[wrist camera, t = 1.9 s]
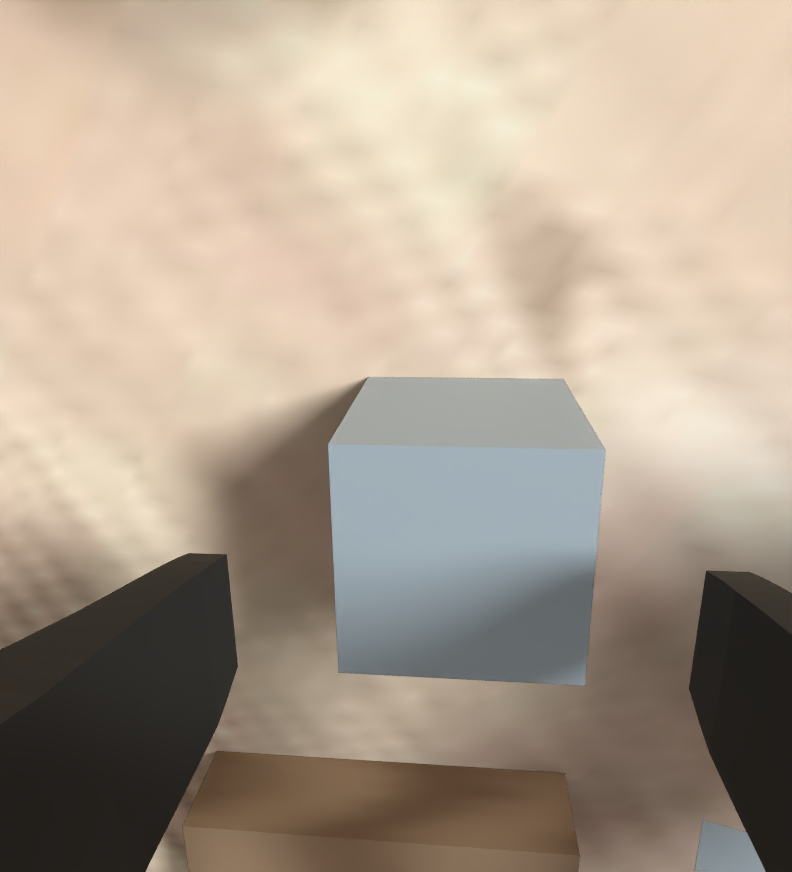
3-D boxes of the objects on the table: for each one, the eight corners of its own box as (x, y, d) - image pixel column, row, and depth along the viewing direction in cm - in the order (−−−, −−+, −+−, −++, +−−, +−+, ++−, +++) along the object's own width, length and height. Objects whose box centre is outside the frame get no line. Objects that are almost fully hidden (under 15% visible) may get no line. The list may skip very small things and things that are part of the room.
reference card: (910, 753, 18) (920, 764, 18) (866, 918, 20) (874, 932, 20) (604, 735, 19) (607, 746, 19) (588, 896, 21) (590, 909, 20)
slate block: (562, 378, 16) (605, 449, 11) (551, 554, 17) (585, 685, 12) (368, 376, 16) (327, 444, 11) (372, 548, 17) (338, 672, 13)
